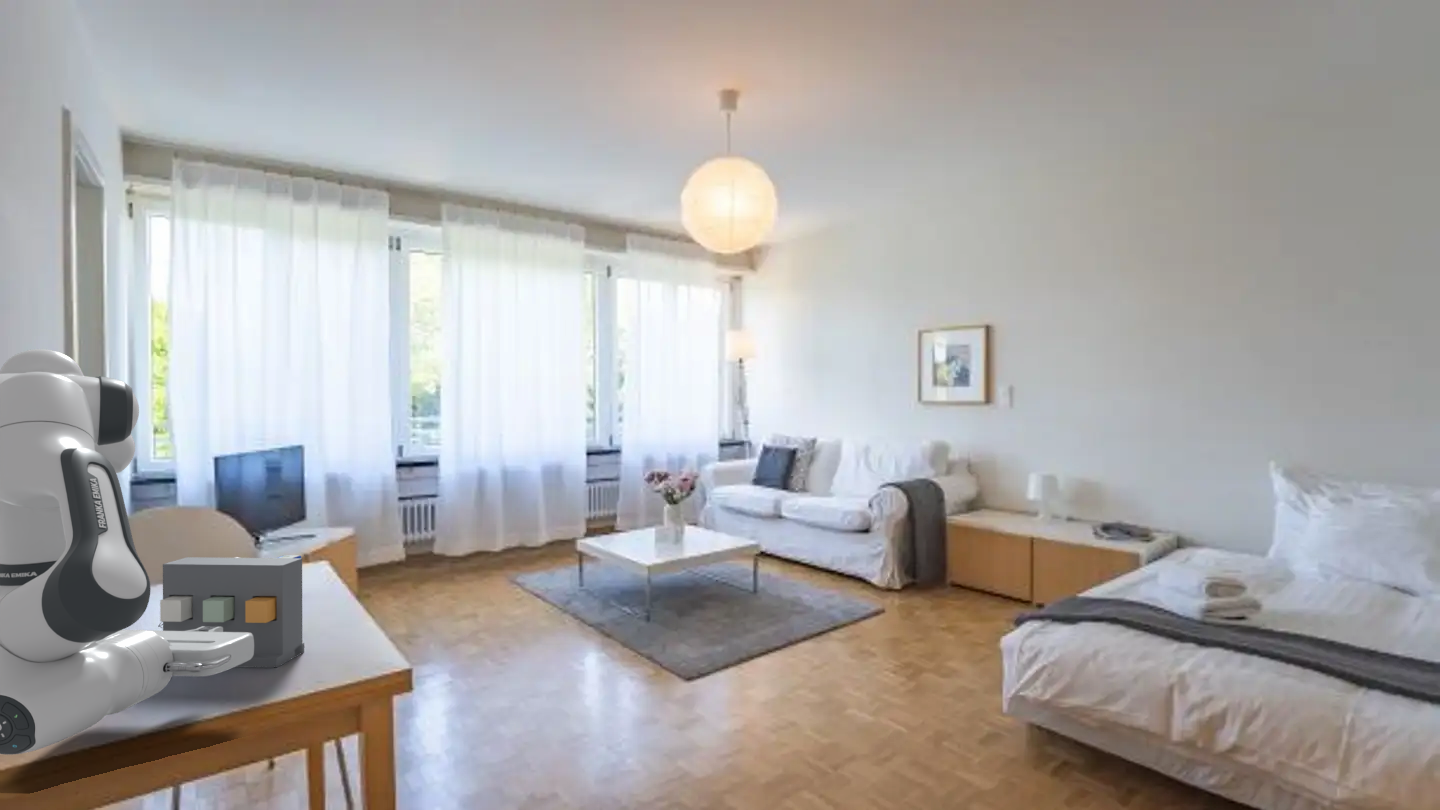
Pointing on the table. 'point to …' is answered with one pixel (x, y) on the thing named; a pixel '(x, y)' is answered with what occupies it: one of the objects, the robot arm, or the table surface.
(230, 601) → the button sage
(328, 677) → the table surface
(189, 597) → the button offwhite
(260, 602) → the button orange
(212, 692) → the table surface
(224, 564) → the button panel
